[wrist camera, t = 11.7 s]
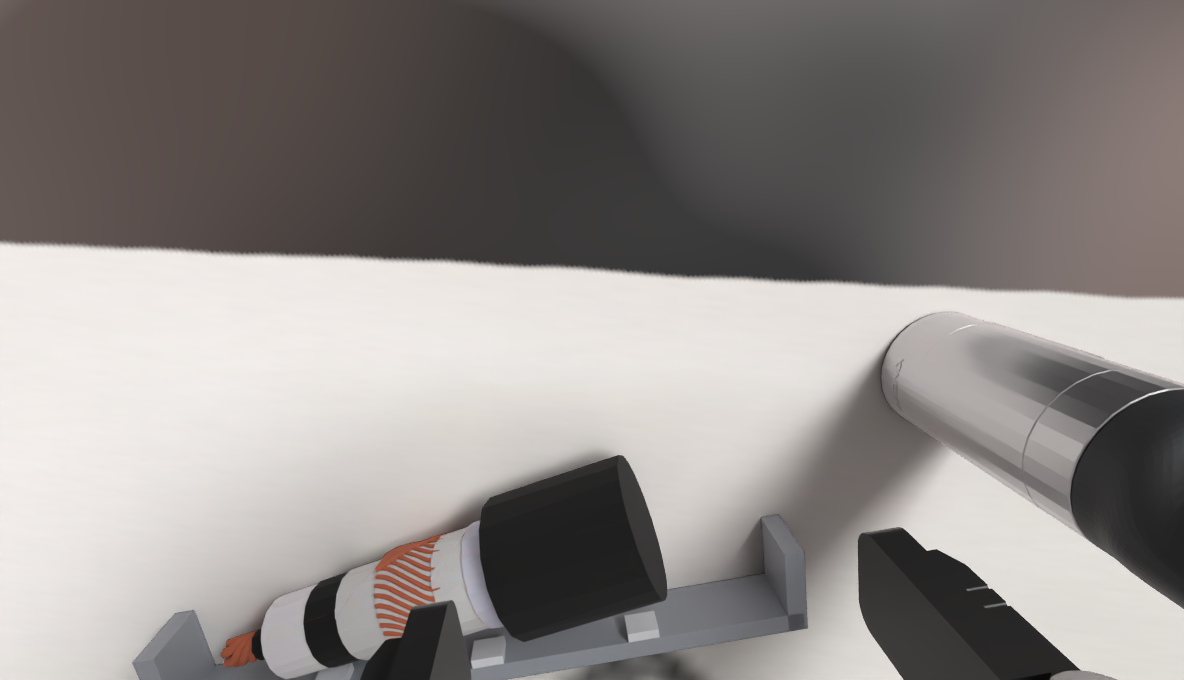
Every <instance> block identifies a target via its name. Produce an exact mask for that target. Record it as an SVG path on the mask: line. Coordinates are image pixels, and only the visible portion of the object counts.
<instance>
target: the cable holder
mask: <svg viewBox="0 0 1184 680" xmlns="http://www.w3.org/2000/svg"><path fill="white" fill-rule="evenodd" d="M761 523H762V538H763V553H764V568H765V574H759V575H753V576H747V577H741V578H735V579H729V580H723V581H717V582H711V583H705V584H699V585H693V586H687V587H681V588H675V589H669V590H667V598H666V600H665V601H662V602H659V603H655V604H652V605H648V606H645V607H642V608H638V609H635V610H631V611H628V612H625V613H621V614H618V615H614V616H611V617H608V618H604V619H601V620H598V621H594V622H591V623H587V624H584V625H581V626H577V627H574V628H570V629H567V630H564V631H560V632H557V633H554V634H550V635H547V636H543V637H540V638H537V639H533V640H530V641H526V642H522V641H520V640H518V639H516V638H513V637H511V635H510V634H509V632H508V631H507V630H506V628H505V627H504V626H503V627H500V628H488V629H484V630H481V631H478V632H475V633H471V634H468V635H465V636H463V638H464V642H465V646H466V650H467V654H468V659H469V663H470V669H471V680H507V679H513V678H519V677H525V676H530V675H536V674H542V673H548V672H554V671H560V670H566V669H572V668H577V667H583V666H589V665H595V664H601V663H607V662H613V661H619V660H624V659H630V658H636V657H642V656H648V655H654V654H660V653H665V652H671V651H677V650H683V649H689V648H695V647H701V646H707V645H712V644H718V643H724V642H730V641H736V640H742V639H748V638H753V637H759V636H765V635H771V634H777V633H783V632H789V631H795V630H800V629H806V628H808V623H807V601H806V578H805V556H804V550H803V549H802V547H801V546H800V544H799V543H798V542H797V540H796V539H795V537H794V536H793V534H792V533H791V531H790V530H789V528H788V527H787V526H786V524H785V523H784V521H783V520H782V518H781V517H780V515H773V516H767V517H761ZM369 660H370V659H369ZM369 660H359V661H356V662H352V663H349V664H346V665H342V666H339V667H334V668H326V669H323V670H320V671H316V672H313V673H310V674H306V675H303V676H300V677H296V678H290V679H284V678H282V677H279V676H277V675H276V674H275V673H274V672H273V671H272V670H271V669H270V668H269V666H268V664H267V662H266V660H262V661H261V660H258V659H257V660H256V661H255V662H252V663H250V662H247V664H246V665H244V666H240V667H233V666H232V667H225V666H224V664H220V665H215V663H214V660H213V658H212V655H211V653H210V650H209V647H208V645H207V642H206V640H205V637H204V634H203V632H202V629H201V627H200V624H199V621H198V619H197V616H196V614H195V611H194V610H193V611H186V612H180V613H175V614H174V615H173V617H172V618H171V619H170V620H169V621H168V622H167V623H166V625H165V626H164V627H163V628H162V629H161V630H160V632H159V633H158V634H157V635H156V636H155V637H154V638H153V640H152V641H151V642H150V643H149V644H148V645H147V647H146V648H145V649H144V650H143V651H142V652H141V653H140V655H139V656H138V657H137V658H136V659H135V660H134V662H133V666H134V668H135V670H136V672H137V675H138V677H139V679H140V680H360V678H361V676H362V673H363V670H364V668H365V665H366V663H367V662H368V661H369Z"/></svg>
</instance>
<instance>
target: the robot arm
mask: <svg viewBox="0 0 1184 680" xmlns="http://www.w3.org/2000/svg"><path fill="white" fill-rule="evenodd" d="M881 381H882V389H883V392H884V395H885V398H886V400H887V401H888V403H889V404H890V406H891V407H892V409H893V410H895V411H896V412H897V413H898V414H899V415H900V416H902V417H903V418H905V419H906V420H908V421H909V422H911V423H912V424H914V425H915V426H917V427H918V428H920V429H921V430H923V431H924V432H926V433H927V434H929V435H930V436H931V437H933V438H934V439H936V440H937V441H939V442H940V443H942V444H943V445H945V446H946V447H948V448H950V449H951V450H953V451H954V452H956V453H957V454H959V455H960V456H962V457H963V458H965V459H966V460H968V461H969V462H971V463H972V464H974V465H975V466H977V467H978V468H980V469H981V470H983V471H984V472H986V473H987V474H989V475H990V476H992V477H993V478H995V479H996V480H998V481H999V482H1001V483H1002V484H1004V485H1005V486H1007V487H1008V488H1010V489H1011V490H1013V491H1014V492H1016V493H1017V494H1019V495H1020V496H1022V497H1023V498H1025V499H1026V500H1028V501H1029V502H1031V503H1032V504H1034V505H1035V506H1037V507H1038V508H1040V509H1042V510H1043V511H1045V512H1046V513H1048V514H1049V515H1051V516H1052V517H1054V518H1055V519H1057V520H1058V521H1060V522H1061V523H1063V524H1064V525H1066V526H1067V527H1069V528H1070V529H1072V530H1074V531H1075V532H1077V533H1078V534H1080V535H1081V536H1083V537H1084V538H1086V539H1087V540H1089V541H1090V542H1092V543H1093V544H1094V545H1096V546H1097V547H1099V548H1100V549H1102V550H1103V551H1105V552H1106V553H1108V554H1109V555H1111V556H1112V557H1114V558H1115V559H1117V560H1118V561H1119V562H1120V563H1121V564H1122V565H1124V566H1125V567H1126V568H1127V569H1128V570H1129V571H1131V572H1132V573H1133V574H1135V575H1136V576H1137V577H1139V578H1140V579H1141V580H1143V581H1144V582H1145V583H1147V584H1148V585H1150V586H1151V587H1153V588H1154V589H1156V590H1157V591H1158V592H1160V593H1161V594H1163V595H1164V596H1166V597H1167V598H1169V599H1170V600H1172V601H1173V602H1175V603H1176V604H1177V605H1179V606H1180V607H1182V608H1183V609H1184V384H1182V383H1179V382H1176V381H1173V380H1169V379H1166V378H1163V377H1160V376H1157V375H1154V374H1151V373H1147V372H1143V371H1140V370H1137V369H1134V368H1131V367H1128V366H1125V365H1121V364H1118V363H1115V362H1112V361H1109V360H1106V359H1104V358H1102V357H1101V356H1097V355H1094V354H1091V353H1088V352H1085V351H1082V350H1078V349H1075V348H1072V347H1069V346H1066V345H1063V344H1060V343H1056V342H1053V341H1050V340H1047V339H1044V338H1041V337H1037V336H1034V335H1031V334H1028V333H1025V332H1022V331H1018V330H1015V329H1012V328H1009V327H1006V326H1003V325H1000V324H996V323H990V322H987V321H984V320H981V319H977V318H974V317H971V316H968V315H964V314H961V313H957V312H941V313H934V314H931V315H929V316H926V317H923V318H921V319H919V320H917V321H916V322H914V323H912V324H911V325H909V326H908V327H907V328H906V329H905V330H904V331H902V332H901V333H900V334H899V336H898V337H897V338H896V339H895V341H894V342H893V343H892V345H891V347H890V348H889V350H888V352H887V354H886V357H885V360H884V363H883V366H882V375H881ZM858 579H859V603H860V608H861V612H862V615H863V618H864V621H865V623H866V625H867V627H868V629H869V631H870V633H871V634H872V636H873V637H874V639H875V640H876V641H877V643H878V644H879V646H880V647H881V648H882V650H883V651H884V653H885V654H886V655H887V657H888V658H889V660H890V661H891V662H892V664H893V665H894V667H895V668H896V669H897V671H898V672H899V674H900V675H901V676H902V678H903V679H904V680H1117V679H1114V678H1112V677H1108V676H1105V675H1102V674H1098V673H1094V672H1088V671H1081V670H1080V669H1079V668H1077V667H1076V666H1075V665H1074V664H1073V663H1072V662H1071V661H1070V660H1069V659H1068V658H1067V657H1066V656H1064V655H1063V654H1062V653H1061V652H1060V651H1059V650H1058V649H1057V648H1056V647H1055V646H1054V645H1052V644H1051V643H1050V642H1049V641H1048V640H1047V639H1046V638H1045V637H1044V636H1043V635H1042V634H1040V633H1039V632H1038V631H1037V630H1036V629H1035V628H1034V627H1033V626H1032V625H1031V624H1030V623H1029V622H1027V621H1026V620H1025V619H1024V618H1023V617H1022V616H1021V615H1020V614H1019V613H1018V612H1017V611H1015V610H1014V609H1013V608H1012V607H1011V606H1007V604H1006V601H1005V600H1003V599H1002V598H1001V597H1000V596H999V595H998V594H997V593H996V592H995V591H994V590H993V589H989V588H988V586H987V584H986V583H985V582H984V581H983V580H982V579H981V578H980V577H978V576H977V575H976V574H975V573H974V572H973V571H972V570H971V569H970V568H969V567H968V566H966V565H965V564H963V563H961V562H960V561H958V560H956V559H954V558H952V557H950V556H948V555H946V554H944V553H943V552H941V551H939V550H937V549H936V550H930V551H926V550H925V549H924V548H923V547H922V546H921V545H920V544H919V543H918V542H917V541H916V540H915V539H914V538H913V537H912V536H911V535H910V534H909V533H908V532H907V531H906V530H904V529H903V528H900V527H897V528H891V529H885V530H879V531H873V532H866V533H862V534H861V535H860V536H859V539H858ZM360 680H471V669H470V663H469V659H468V654H467V650H466V646H465V642H464V638H463V634H462V629H461V625H460V621H459V617H458V613H457V609H456V606H455V603H454V601H453V600H448V601H442V602H436V603H430V604H424V605H418V606H413V607H412V609H411V611H410V613H409V616H408V619H407V622H406V626H405V629H404V632H403V635H402V637H401V638H395V639H389V640H385V641H384V642H383V644H382V645H381V646H380V647H379V649H378V650H377V651H376V652H375V653H374V655H373V656H372V657H371V658H370V660H369V661H368V662H367V663H366V665H365V668H364V670H363V673H362V676H361V678H360Z"/></svg>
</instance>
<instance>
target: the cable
mask: <svg viewBox="0 0 1184 680" xmlns="http://www.w3.org/2000/svg"><path fill="white" fill-rule="evenodd" d="M666 598H667V581H666V575H665V569H664V564H663V559H662V555H661V551H660V547H659V543H658V539H657V536H656V532H655V529H654V526H653V522H652V519H651V516H650V513H649V510H648V508H647V505H646V502H645V499H644V496H643V494H642V491H641V489H640V486H639V484H638V482H637V479H636V477H635V475H634V473H633V471H632V469H631V467H630V465H629V463H628V462H627V460H626V459H625V458H624V456H621V455H618V456H615V457H611V458H608V459H605V460H602V461H599V462H596V463H593V464H590V465H587V466H584V467H581V468H578V469H575V470H572V471H569V472H566V473H563V474H560V475H557V476H554V477H551V478H548V479H545V480H542V481H539V482H536V483H533V484H530V485H527V486H524V487H521V488H518V489H515V490H512V491H509V492H506V493H503V494H500V495H497V496H494V497H491V498H489V500H488V501H487V503H486V504H485V506H484V507H483V508H482V513H481V519H480V520H479V521H476V522H473V523H472V524H470V525H469V526H468V527H466V528H463V529H460V530H457V531H454V532H451V533H446V534H442V535H438V536H434V537H432V538H430V539H427V540H425V541H419V542H414V543H409V544H406V545H403V546H400V547H397V548H395V549H393V550H391V551H389V552H388V553H386V554H385V556H384V557H383V558H382V559H381V560H378V561H375V562H372V563H369V564H366V565H363V566H360V567H357V568H354V569H351V570H350V571H349V572H347V573H344V574H341V575H338V576H335V577H332V578H329V579H326V580H323V581H320V582H319V583H318V584H315V585H312V586H309V587H306V588H303V589H300V590H297V591H294V592H291V593H288V594H284V595H282V596H281V597H279V598H277V599H276V600H275V601H274V602H273V603H272V605H271V606H270V608H269V609H268V610H267V612H266V615H265V618H264V622H263V625H262V628H260V629H258V630H257V631H253V632H250V633H247V634H243V635H240V636H237V637H235V638H232V639H229V640H227V642H226V647H227V648H224V649H223V650H222V652H221V657H222V658H226V659H225V661H224V666H225V667H232V666H233V667H240V666H244V665H246V664H247V662H250V663H252V662H255V661H256V660H257V659H258V660H261V661H262V660H266V662H267V664H268V666H269V668H270V669H271V670H272V671H273V672H274V673H275V674H276V675H277V676H279V677H282V678H284V679H290V678H296V677H300V676H303V675H306V674H310V673H313V672H316V671H320V670H323V669H326V668H334V667H339V666H342V665H346V664H349V663H352V662H356V661H359V660H369V659H370V658H371V657H372V656H373V655H374V653H375V652H376V651H377V650H378V649H379V647H380V646H381V645H382V644H383V642H384V641H385V640H389V639H395V638H401V637H402V635H403V632H404V629H405V626H406V622H407V619H408V616H409V613H410V611H411V609H412V607H413V606H418V605H424V604H430V603H436V602H442V601H448V600H453V601H454V603H455V606H456V609H457V613H458V617H459V621H460V625H461V629H462V634H463V636H465V635H468V634H471V633H475V632H478V631H481V630H484V629H488V628H500V627H503V626H504V627H505V628H506V630H507V631H508V632H509V634H510V635H511V637H513V638H516V639H518V640H520V641H522V642H526V641H530V640H533V639H537V638H540V637H543V636H547V635H550V634H554V633H557V632H560V631H564V630H567V629H570V628H574V627H577V626H581V625H584V624H587V623H591V622H594V621H598V620H601V619H604V618H608V617H611V616H614V615H618V614H621V613H625V612H628V611H631V610H635V609H638V608H642V607H645V606H648V605H652V604H655V603H659V602H662V601H665V600H666ZM227 657H228V658H227Z"/></svg>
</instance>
